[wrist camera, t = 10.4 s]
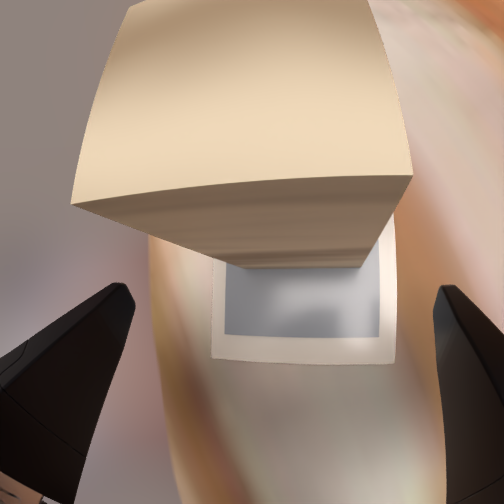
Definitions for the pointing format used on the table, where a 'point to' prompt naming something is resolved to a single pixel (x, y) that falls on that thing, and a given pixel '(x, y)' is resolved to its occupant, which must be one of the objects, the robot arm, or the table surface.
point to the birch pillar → (248, 131)
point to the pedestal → (308, 311)
